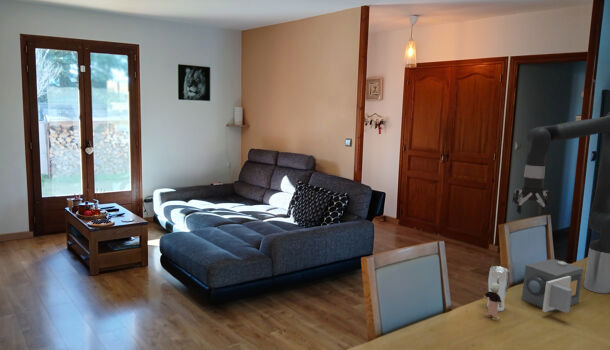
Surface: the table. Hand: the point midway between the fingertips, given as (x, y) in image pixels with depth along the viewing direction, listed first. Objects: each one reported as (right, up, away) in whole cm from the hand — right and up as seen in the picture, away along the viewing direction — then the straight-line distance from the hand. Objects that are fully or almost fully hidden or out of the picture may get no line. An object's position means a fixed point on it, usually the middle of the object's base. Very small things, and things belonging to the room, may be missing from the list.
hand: (529, 214), depth 190 cm
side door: (-1, -33, -27) cm, 42 cm away
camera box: (0, -33, -14) cm, 36 cm away
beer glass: (-23, -33, -22) cm, 46 cm away
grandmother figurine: (-28, -34, -29) cm, 53 cm away
